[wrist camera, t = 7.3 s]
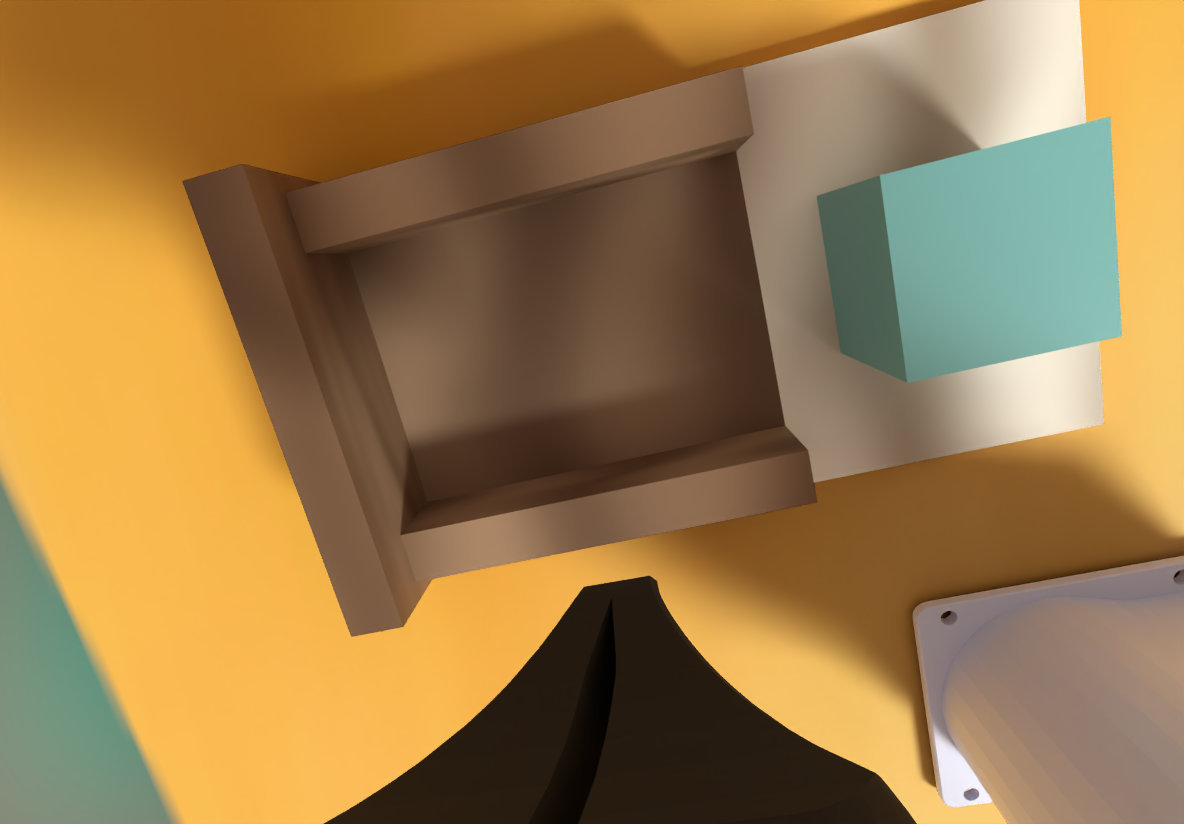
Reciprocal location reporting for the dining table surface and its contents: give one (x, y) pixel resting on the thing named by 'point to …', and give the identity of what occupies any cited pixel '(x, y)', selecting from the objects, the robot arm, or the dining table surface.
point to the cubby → (623, 308)
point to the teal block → (977, 256)
